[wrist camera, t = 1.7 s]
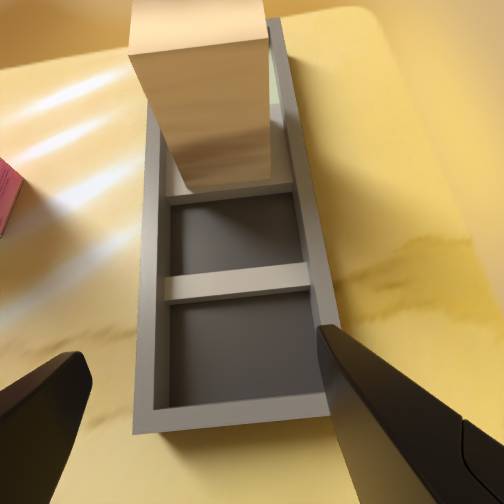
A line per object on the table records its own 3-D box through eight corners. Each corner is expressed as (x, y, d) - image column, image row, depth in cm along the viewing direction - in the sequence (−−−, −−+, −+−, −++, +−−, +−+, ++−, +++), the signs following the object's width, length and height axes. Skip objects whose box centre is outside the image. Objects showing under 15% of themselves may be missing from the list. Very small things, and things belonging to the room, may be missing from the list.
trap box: (345, 409, 18) (357, 413, 16) (153, 427, 19) (132, 434, 16) (279, 51, 30) (279, 17, 27) (162, 65, 30) (150, 33, 27)
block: (270, 178, 23) (268, 37, 14) (186, 188, 23) (127, 55, 14) (261, 114, 25) (255, -43, 16) (185, 124, 25) (135, -27, 16)
